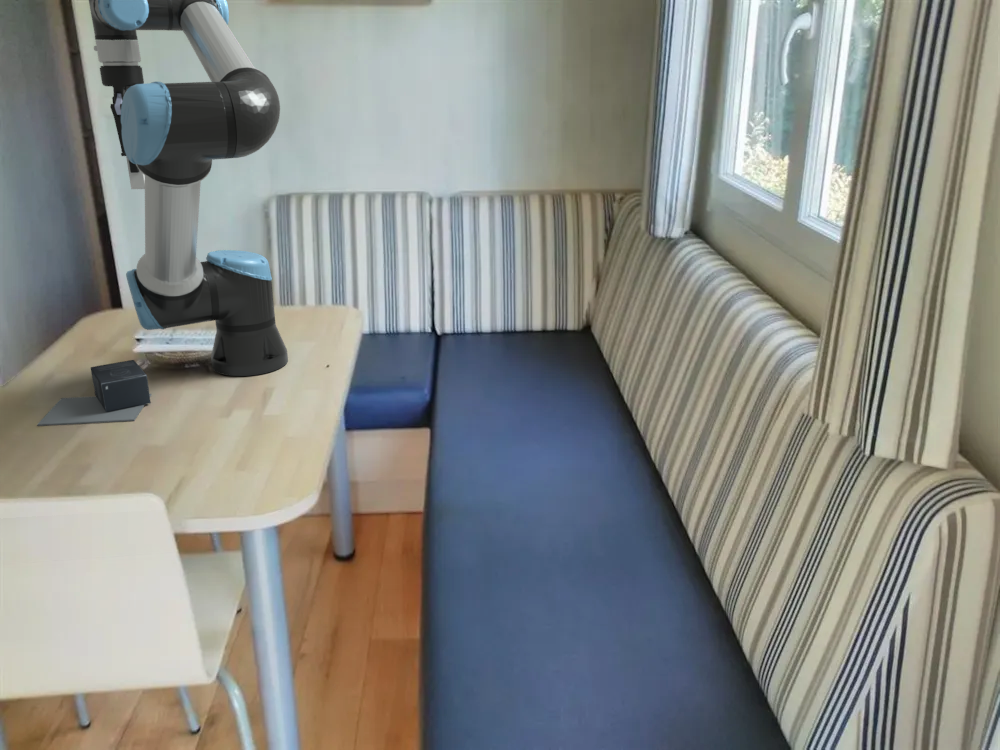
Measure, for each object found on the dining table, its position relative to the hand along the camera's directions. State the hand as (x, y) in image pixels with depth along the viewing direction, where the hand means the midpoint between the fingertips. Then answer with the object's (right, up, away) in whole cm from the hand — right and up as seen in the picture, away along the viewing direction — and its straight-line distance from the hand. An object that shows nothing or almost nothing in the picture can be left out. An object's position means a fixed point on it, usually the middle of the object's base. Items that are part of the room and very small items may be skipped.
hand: (139, 188), depth 171 cm
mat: (0, -44, -19) cm, 48 cm away
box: (0, -38, -12) cm, 40 cm away
